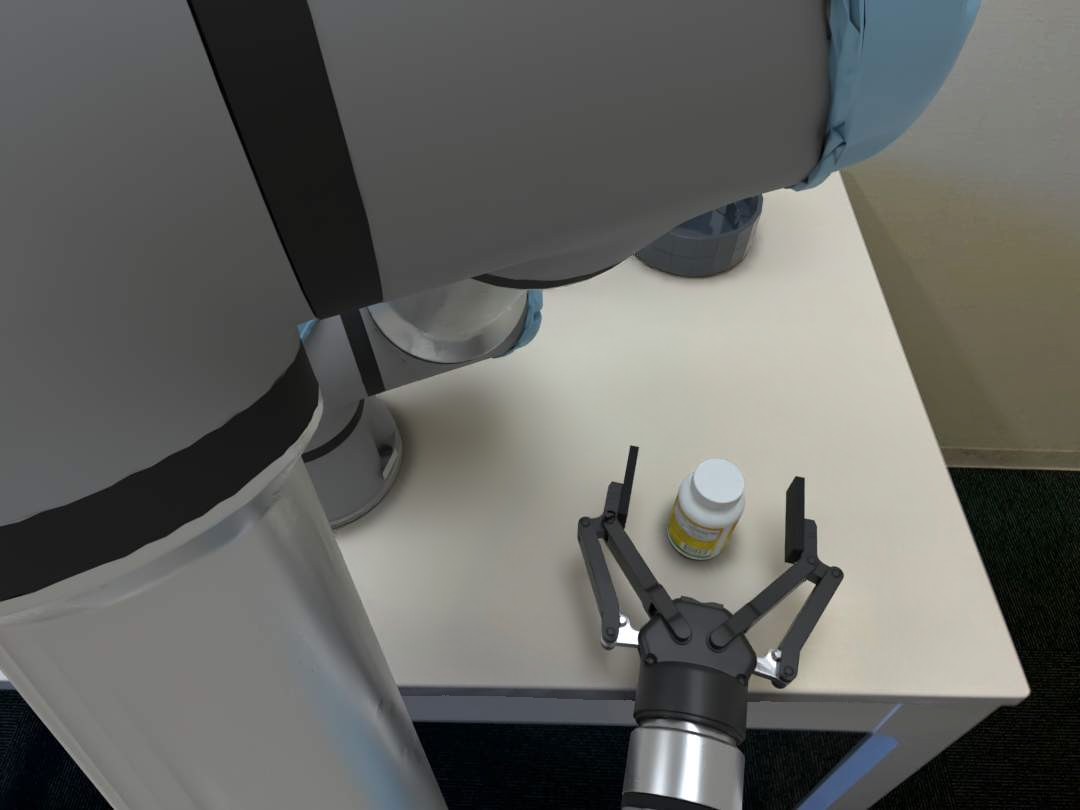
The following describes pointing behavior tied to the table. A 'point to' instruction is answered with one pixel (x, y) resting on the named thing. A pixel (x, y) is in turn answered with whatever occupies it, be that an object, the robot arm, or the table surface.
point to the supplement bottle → (707, 509)
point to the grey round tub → (707, 240)
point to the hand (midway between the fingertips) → (712, 468)
